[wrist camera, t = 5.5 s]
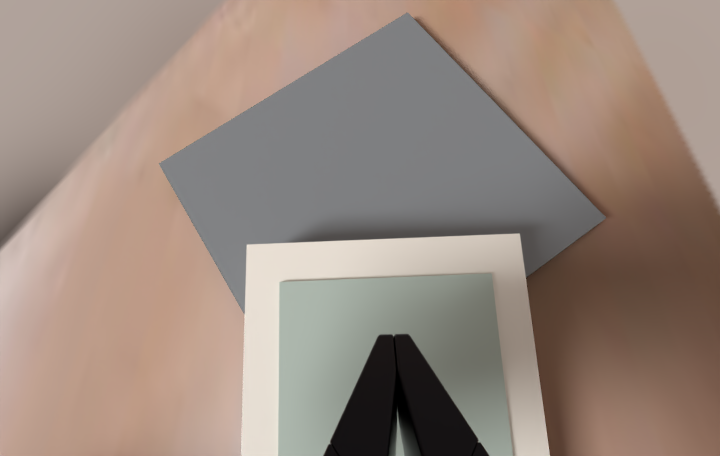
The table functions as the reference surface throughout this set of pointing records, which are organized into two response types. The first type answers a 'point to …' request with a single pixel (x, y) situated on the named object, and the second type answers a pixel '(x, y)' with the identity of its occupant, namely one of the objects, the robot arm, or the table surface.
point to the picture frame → (388, 316)
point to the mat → (375, 162)
